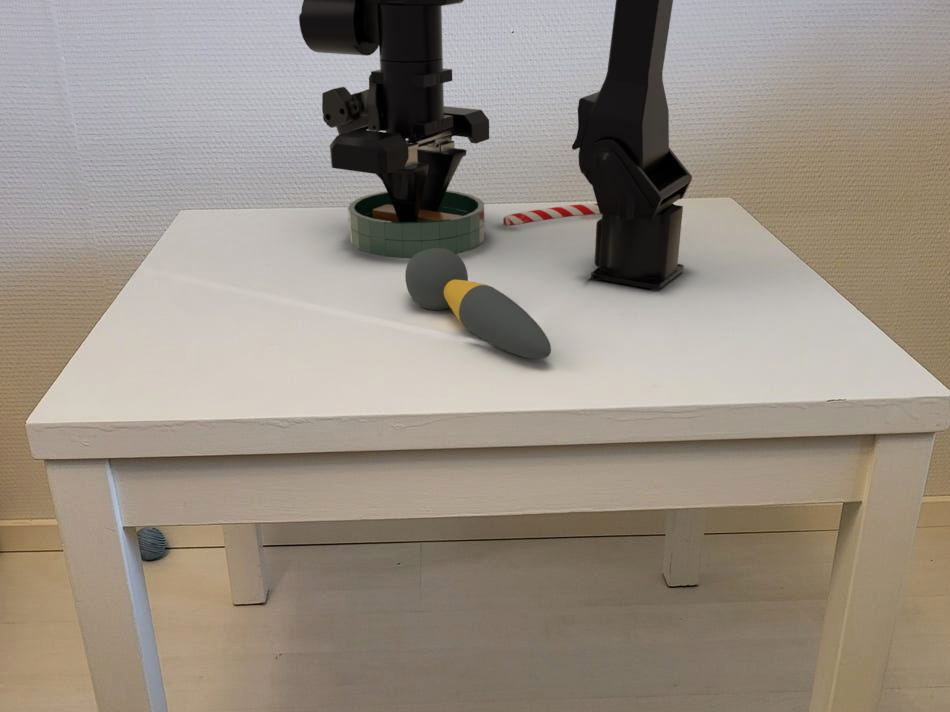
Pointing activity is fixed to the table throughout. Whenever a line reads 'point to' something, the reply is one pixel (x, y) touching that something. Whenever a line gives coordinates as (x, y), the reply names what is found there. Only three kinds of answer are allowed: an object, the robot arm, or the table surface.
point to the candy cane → (550, 213)
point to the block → (389, 214)
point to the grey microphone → (473, 303)
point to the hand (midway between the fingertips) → (417, 228)
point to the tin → (416, 227)
